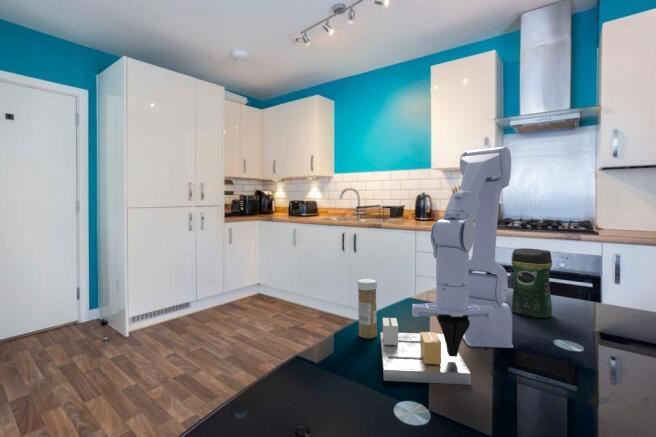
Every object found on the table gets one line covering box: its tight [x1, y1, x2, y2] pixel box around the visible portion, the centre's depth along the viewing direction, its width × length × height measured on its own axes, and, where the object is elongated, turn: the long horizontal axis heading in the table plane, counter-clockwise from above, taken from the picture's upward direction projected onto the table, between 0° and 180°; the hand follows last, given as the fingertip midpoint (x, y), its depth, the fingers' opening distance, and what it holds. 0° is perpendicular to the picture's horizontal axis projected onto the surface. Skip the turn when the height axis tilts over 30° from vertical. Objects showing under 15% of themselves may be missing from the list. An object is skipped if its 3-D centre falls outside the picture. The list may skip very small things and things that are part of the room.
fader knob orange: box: [420, 331, 441, 364], centre depth 65 cm, size 3×5×4 cm, turn 173°
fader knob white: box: [382, 317, 399, 345], centre depth 74 cm, size 3×5×4 cm, turn 173°
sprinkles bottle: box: [357, 278, 378, 339], centre depth 82 cm, size 5×5×14 cm
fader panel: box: [380, 331, 472, 386], centre depth 69 cm, size 15×18×2 cm
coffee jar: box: [510, 247, 553, 319], centre depth 96 cm, size 10×8×19 cm
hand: (452, 354), depth 65 cm, fingers closed
